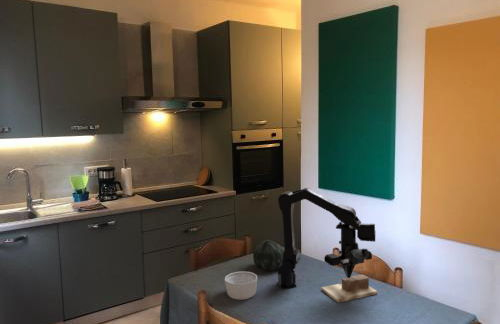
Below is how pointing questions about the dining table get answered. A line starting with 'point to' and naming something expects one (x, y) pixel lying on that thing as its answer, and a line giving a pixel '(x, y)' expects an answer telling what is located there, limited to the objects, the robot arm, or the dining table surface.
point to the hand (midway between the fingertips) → (348, 277)
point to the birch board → (342, 295)
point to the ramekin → (241, 285)
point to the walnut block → (355, 283)
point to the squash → (268, 255)
